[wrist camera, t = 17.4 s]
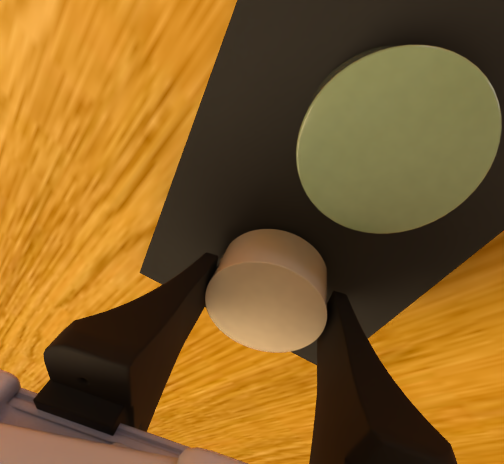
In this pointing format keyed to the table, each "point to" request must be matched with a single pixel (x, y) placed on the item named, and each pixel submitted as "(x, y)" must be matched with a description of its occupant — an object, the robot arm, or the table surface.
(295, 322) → the cream cylinder
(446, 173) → the sage green puck
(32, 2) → the table surface
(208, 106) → the mat
